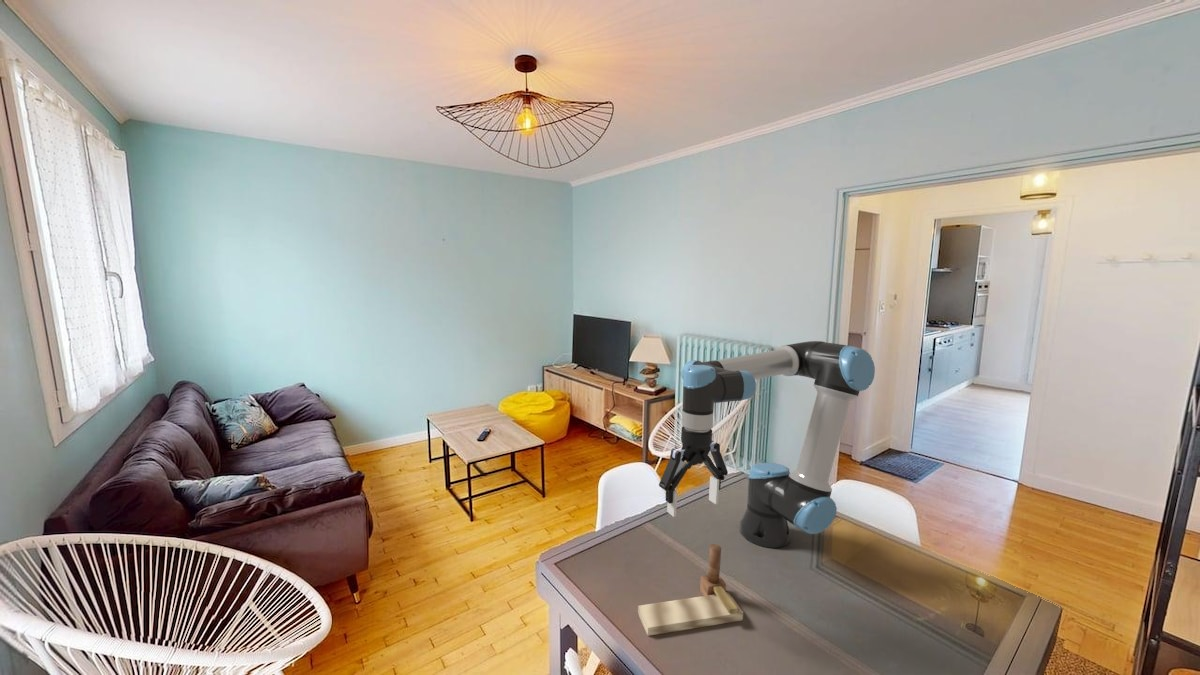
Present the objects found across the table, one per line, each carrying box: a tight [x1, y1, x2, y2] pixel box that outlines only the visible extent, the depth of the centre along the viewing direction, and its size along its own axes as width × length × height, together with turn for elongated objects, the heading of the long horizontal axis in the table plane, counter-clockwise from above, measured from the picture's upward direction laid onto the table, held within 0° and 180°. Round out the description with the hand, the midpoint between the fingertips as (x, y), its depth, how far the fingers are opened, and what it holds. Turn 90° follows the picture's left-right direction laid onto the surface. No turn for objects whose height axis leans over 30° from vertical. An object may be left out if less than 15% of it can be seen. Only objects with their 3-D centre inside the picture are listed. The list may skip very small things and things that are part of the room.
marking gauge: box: [699, 543, 737, 613], centre depth 109 cm, size 5×12×13 cm, turn 13°
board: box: [637, 592, 744, 637], centre depth 106 cm, size 24×7×2 cm, turn 103°
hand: (693, 507), depth 113 cm, fingers open, 13 cm apart
